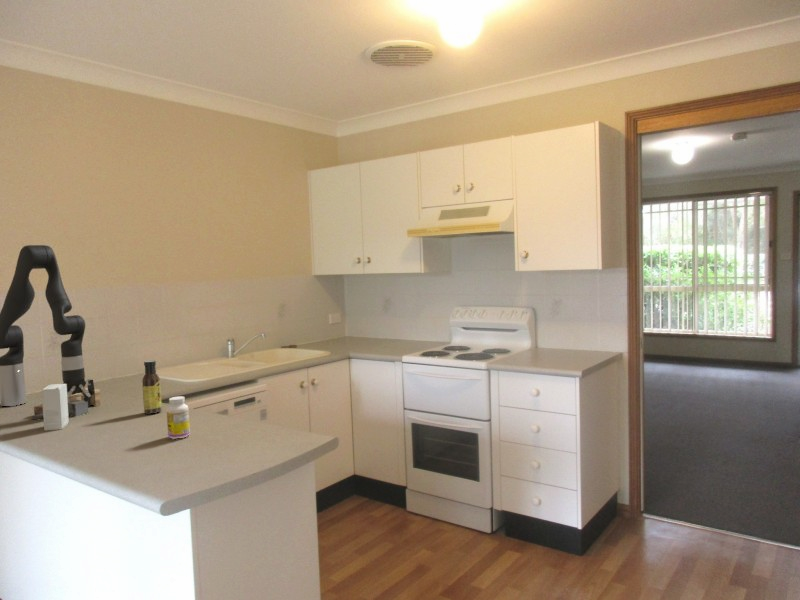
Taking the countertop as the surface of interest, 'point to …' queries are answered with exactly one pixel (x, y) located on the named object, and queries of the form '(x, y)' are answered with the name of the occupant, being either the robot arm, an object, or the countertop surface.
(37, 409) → the walnut block
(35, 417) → the rubber puck
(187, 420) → the supplement bottle
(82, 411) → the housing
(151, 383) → the sauce bottle
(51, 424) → the skincare box
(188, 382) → the countertop surface
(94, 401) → the stand
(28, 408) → the countertop surface
